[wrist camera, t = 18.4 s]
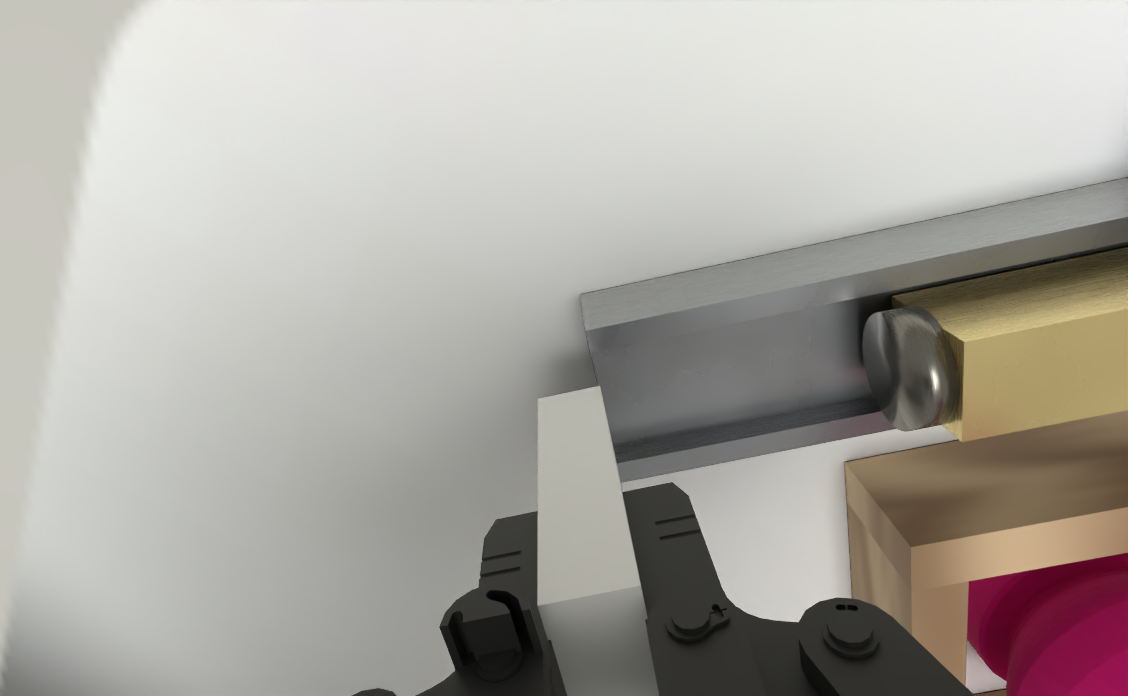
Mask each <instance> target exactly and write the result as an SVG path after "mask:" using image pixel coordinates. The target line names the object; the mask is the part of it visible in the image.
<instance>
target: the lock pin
mask: <svg viewBox="0 0 1128 696" xmlns="http://www.w3.org/2000/svg"><path fill="white" fill-rule="evenodd" d="M862 344H863V359H864V365H865V370H866V375H867V378H868V382H869V385H870V388H871V391H872V393H873V396H874V398H875V400H876V402H877V404H878V406H879V408H880V410H881V411H882V413H883V414H884V416H885V417H886V418H887V420H888V421H889V422H890V423H891V424H892V425H893V426H894V427H896V428H897V429H899V430H901V431H912V430H917V429H922V428H927V427H932V426H937V425H943V426H944V427H945V428H946V429H947V430H948V431H949V432H951V433H952V434H953V435H954V436H955V437H956V438H957V439H959V440H960V441H961V442H966V441H971V440H976V439H981V438H986V437H992V436H997V435H1002V434H1007V433H1012V432H1017V431H1022V430H1028V429H1033V428H1038V427H1043V426H1048V425H1053V424H1059V423H1064V422H1069V421H1074V420H1079V419H1084V418H1090V417H1095V416H1100V415H1105V414H1110V413H1115V412H1121V411H1126V410H1128V247H1126V248H1121V249H1117V250H1112V251H1107V252H1102V253H1097V254H1092V255H1088V256H1083V257H1078V258H1073V259H1068V260H1064V261H1059V262H1054V263H1049V264H1044V265H1040V266H1035V267H1030V268H1025V269H1020V270H1015V271H1011V272H1006V273H1001V274H996V275H991V276H987V277H982V278H977V279H972V280H967V281H962V282H958V283H953V284H948V285H943V286H938V287H934V288H929V289H924V290H919V291H914V292H910V293H905V294H900V295H895V296H892V310H887V311H882V312H878V313H874V314H872V315H871V316H870V317H869V318H868V320H867V322H866V324H865V327H864V332H863V342H862Z"/></svg>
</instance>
